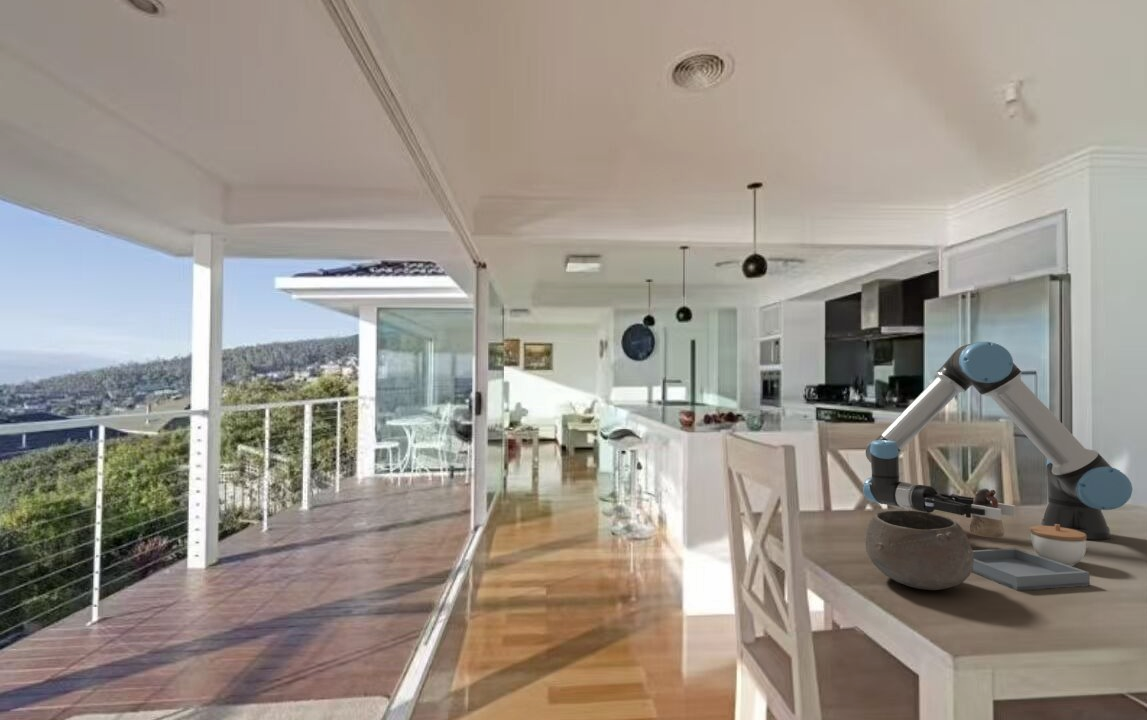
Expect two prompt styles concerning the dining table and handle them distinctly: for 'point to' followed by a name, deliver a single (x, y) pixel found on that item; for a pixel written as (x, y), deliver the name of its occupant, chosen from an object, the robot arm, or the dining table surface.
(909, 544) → the clay pot
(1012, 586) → the tray
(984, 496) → the figurine
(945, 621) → the dining table surface
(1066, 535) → the lidded jar
